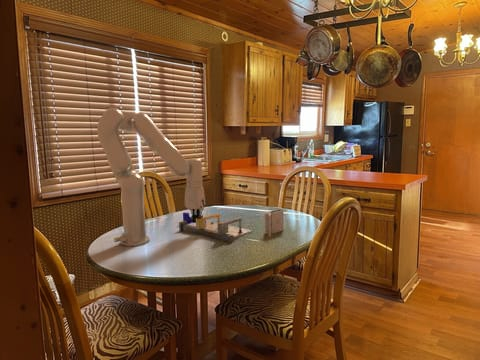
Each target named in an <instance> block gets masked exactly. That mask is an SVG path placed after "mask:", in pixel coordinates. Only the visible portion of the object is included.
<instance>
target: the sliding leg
mask: <svg viewBox="0 0 480 360" xmlns="http://www.w3.org/2000/svg"><path fill="white" fill-rule="evenodd" d="M220 215H221V214H220V213H218V212H217V213H214V214H213V213H212V214H211V215H206V216H205V215H203V214H202V215H199V218H196V223H195V226H196V229H203V228H206V223H207V220H212V219H214V218H217V223H219V222H221V216H220Z"/></svg>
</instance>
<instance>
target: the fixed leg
mask: <svg viewBox="0 0 480 360" xmlns="http://www.w3.org/2000/svg"><path fill="white" fill-rule="evenodd" d="M216 223H217V227H218V234H220V235H223V234H225V233H228V225H231V224H235V223H238V228H239V232H242V227H243V226H242V223H243V222H242V217H236V218H233V219H229V220H222V221H220V222H219V223H218V222H216Z"/></svg>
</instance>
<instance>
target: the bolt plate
mask: <svg viewBox="0 0 480 360" xmlns="http://www.w3.org/2000/svg"><path fill="white" fill-rule="evenodd" d="M217 223H218V222H214V221H209V222H206V228H205V229H209V230H213V231H217V232H218V227H217ZM252 232H253V230H251V229H247V228H242V232H239V226H237V227H236V226H232V225H230V224H228V233H226V234H230V235H233V239H237V238H239V237H242V236H245V235H247V234H250V233H252Z"/></svg>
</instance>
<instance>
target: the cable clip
mask: <svg viewBox="0 0 480 360" xmlns="http://www.w3.org/2000/svg"><path fill="white" fill-rule="evenodd" d="M199 215H203V211H202V212H200V214H199ZM182 221H187V224H188V225H191V224H192V223H193V222H192V215H191V216H190V213H189V212H185V211H183V213H182Z"/></svg>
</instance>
